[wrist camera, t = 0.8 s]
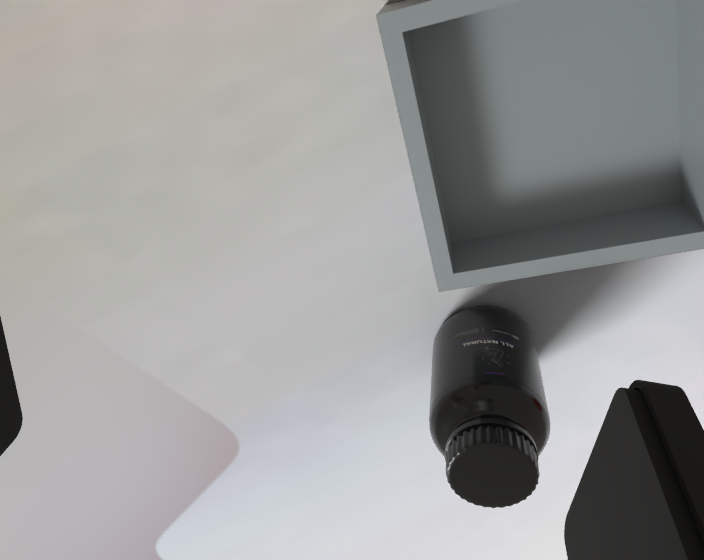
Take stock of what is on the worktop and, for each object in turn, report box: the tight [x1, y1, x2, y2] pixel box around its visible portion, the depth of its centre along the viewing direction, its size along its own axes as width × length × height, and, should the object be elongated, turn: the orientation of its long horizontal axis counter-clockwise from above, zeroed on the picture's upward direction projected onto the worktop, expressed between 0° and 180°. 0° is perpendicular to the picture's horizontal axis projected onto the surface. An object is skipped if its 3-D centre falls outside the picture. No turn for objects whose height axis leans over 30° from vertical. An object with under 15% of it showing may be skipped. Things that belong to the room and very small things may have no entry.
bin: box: [376, 0, 704, 292], centre depth 32 cm, size 15×15×5 cm
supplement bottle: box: [429, 307, 550, 508], centre depth 37 cm, size 7×7×12 cm
